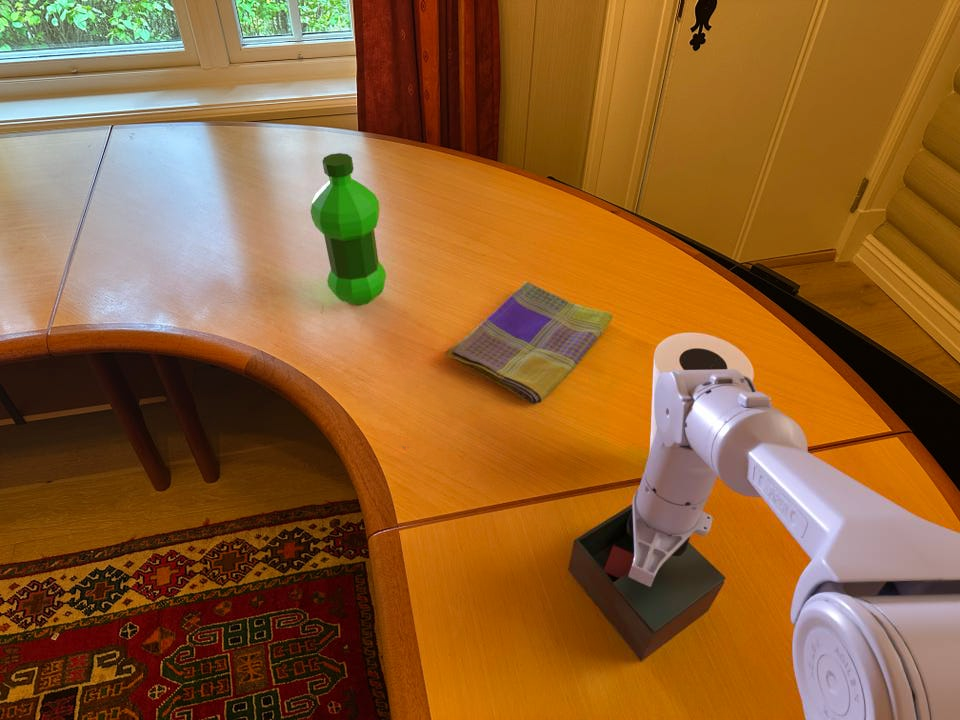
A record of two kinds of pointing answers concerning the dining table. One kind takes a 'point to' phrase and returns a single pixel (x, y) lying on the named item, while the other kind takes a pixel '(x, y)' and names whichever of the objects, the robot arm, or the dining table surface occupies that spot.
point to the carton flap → (670, 587)
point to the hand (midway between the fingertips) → (648, 557)
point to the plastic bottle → (349, 232)
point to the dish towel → (531, 342)
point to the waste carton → (598, 585)
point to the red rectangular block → (618, 563)
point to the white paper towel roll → (695, 359)
